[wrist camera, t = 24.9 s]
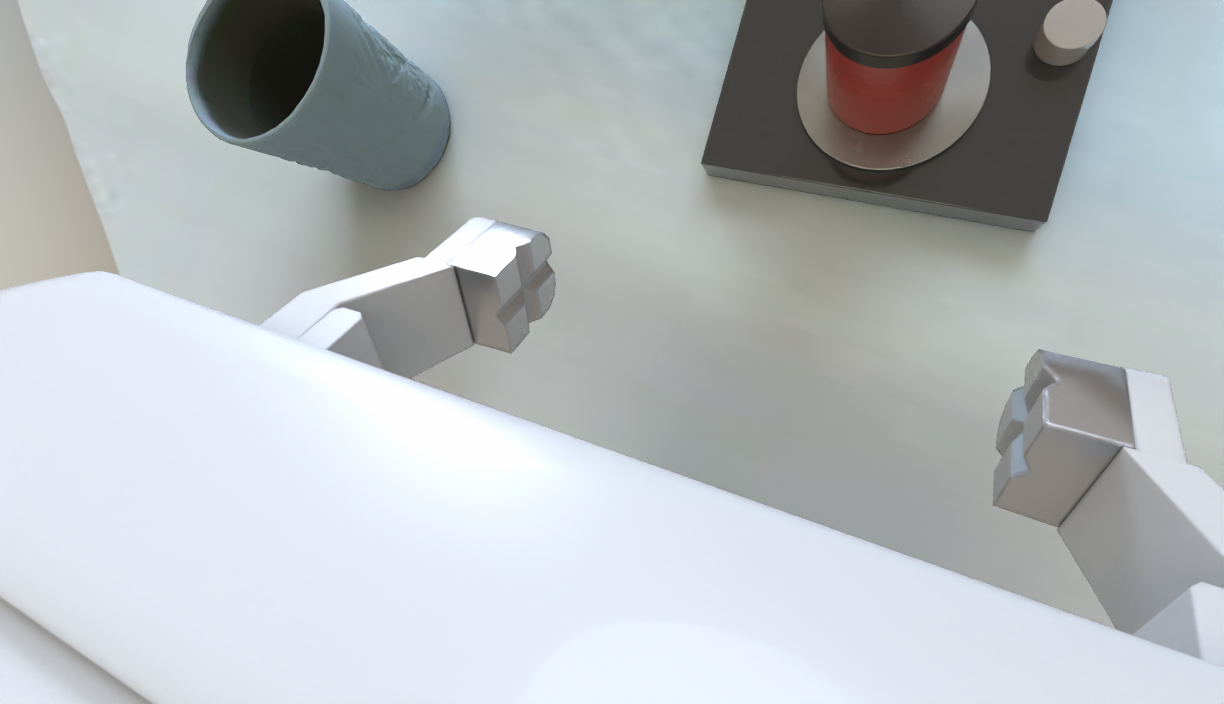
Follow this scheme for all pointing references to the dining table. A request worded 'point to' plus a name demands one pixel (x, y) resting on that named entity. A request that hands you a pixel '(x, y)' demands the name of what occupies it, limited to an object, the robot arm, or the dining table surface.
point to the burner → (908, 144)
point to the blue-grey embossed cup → (315, 90)
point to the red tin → (890, 58)
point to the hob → (959, 177)
